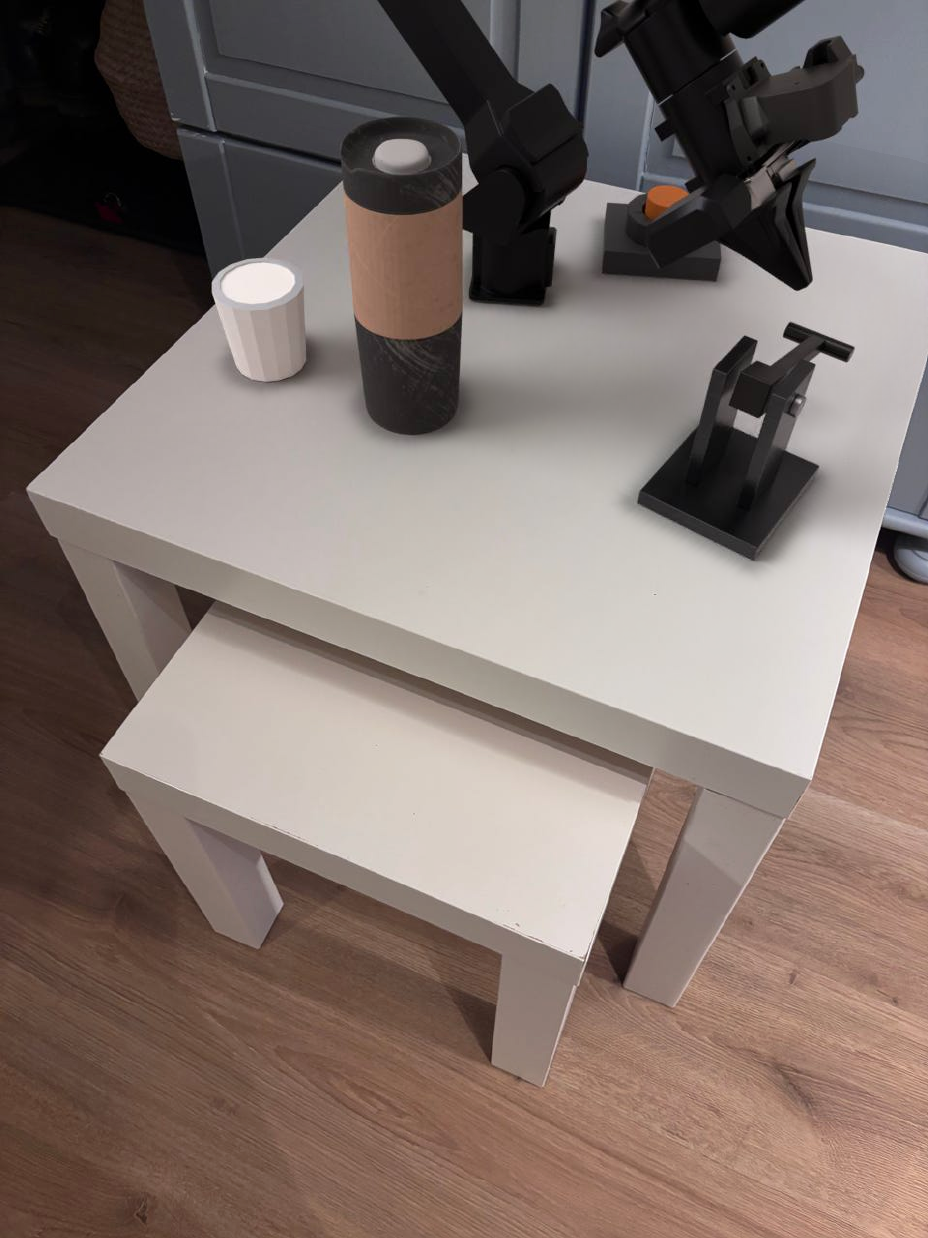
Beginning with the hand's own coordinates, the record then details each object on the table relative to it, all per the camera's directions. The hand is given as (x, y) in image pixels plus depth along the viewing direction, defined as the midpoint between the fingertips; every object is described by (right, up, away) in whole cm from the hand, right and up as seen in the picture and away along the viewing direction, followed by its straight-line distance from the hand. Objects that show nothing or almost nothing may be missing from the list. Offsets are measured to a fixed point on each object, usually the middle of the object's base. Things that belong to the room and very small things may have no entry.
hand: (804, 286), depth 69 cm
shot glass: (-39, -3, +10) cm, 41 cm away
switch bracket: (-5, -14, +1) cm, 15 cm away
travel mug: (-28, -7, +7) cm, 30 cm away
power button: (-6, +12, +17) cm, 22 cm away
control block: (-6, +10, +20) cm, 23 cm away
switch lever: (-2, -7, -2) cm, 8 cm away
